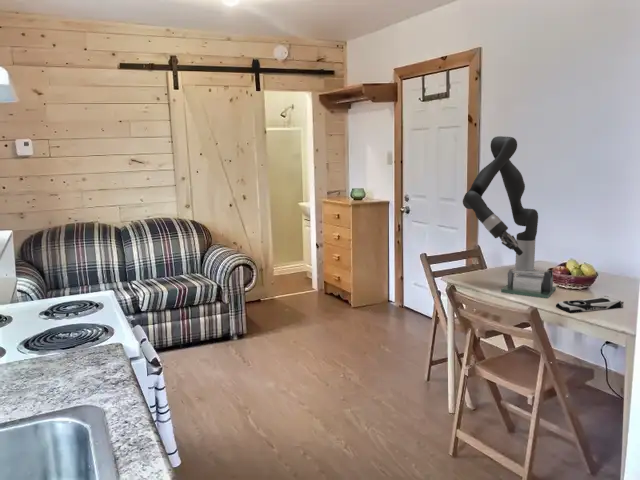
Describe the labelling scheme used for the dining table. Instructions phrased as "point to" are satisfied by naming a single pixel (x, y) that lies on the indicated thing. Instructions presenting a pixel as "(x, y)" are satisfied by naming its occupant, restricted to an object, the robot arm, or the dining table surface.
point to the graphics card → (589, 304)
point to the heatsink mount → (530, 284)
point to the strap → (528, 271)
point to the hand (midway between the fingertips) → (521, 254)
